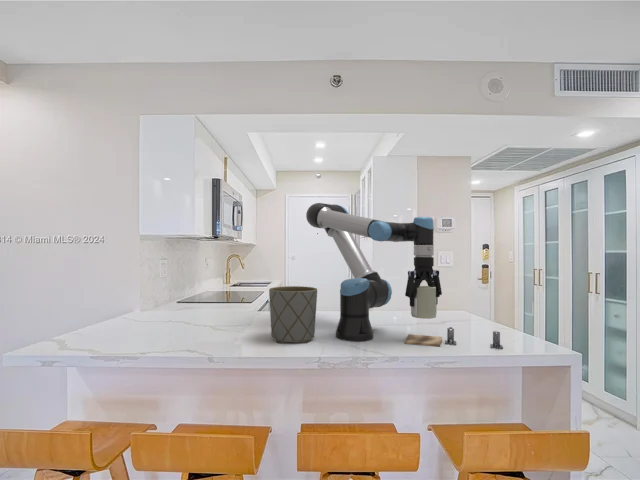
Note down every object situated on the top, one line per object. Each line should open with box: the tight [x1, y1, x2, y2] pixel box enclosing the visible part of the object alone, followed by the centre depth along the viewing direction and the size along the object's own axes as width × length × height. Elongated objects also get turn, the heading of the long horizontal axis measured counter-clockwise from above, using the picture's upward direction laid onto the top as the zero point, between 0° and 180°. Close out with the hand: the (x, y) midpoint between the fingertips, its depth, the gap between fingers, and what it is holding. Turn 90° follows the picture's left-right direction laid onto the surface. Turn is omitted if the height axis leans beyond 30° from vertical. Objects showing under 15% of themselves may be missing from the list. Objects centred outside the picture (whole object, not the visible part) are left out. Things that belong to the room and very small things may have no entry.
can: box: [411, 285, 437, 320], centre depth 151 cm, size 9×9×12 cm
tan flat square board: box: [404, 333, 443, 348], centre depth 151 cm, size 13×13×1 cm
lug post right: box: [489, 330, 504, 350], centre depth 142 cm, size 4×5×6 cm
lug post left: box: [444, 326, 457, 346], centre depth 148 cm, size 4×5×6 cm
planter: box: [268, 285, 318, 344], centre depth 154 cm, size 19×19×20 cm
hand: (423, 314), depth 151 cm, fingers closed on can, 9 cm apart
